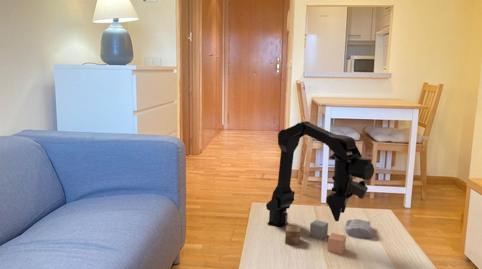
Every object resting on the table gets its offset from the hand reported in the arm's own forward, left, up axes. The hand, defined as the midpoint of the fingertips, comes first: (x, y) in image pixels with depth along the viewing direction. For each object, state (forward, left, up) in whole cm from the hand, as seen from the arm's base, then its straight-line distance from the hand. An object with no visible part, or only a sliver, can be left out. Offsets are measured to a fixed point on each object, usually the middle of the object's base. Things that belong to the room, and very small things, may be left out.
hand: (339, 216), depth 143 cm
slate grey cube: (-9, +8, -12) cm, 17 cm away
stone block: (+3, +20, -13) cm, 23 cm away
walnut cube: (-16, -2, -12) cm, 20 cm away
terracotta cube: (0, -1, -12) cm, 12 cm away
